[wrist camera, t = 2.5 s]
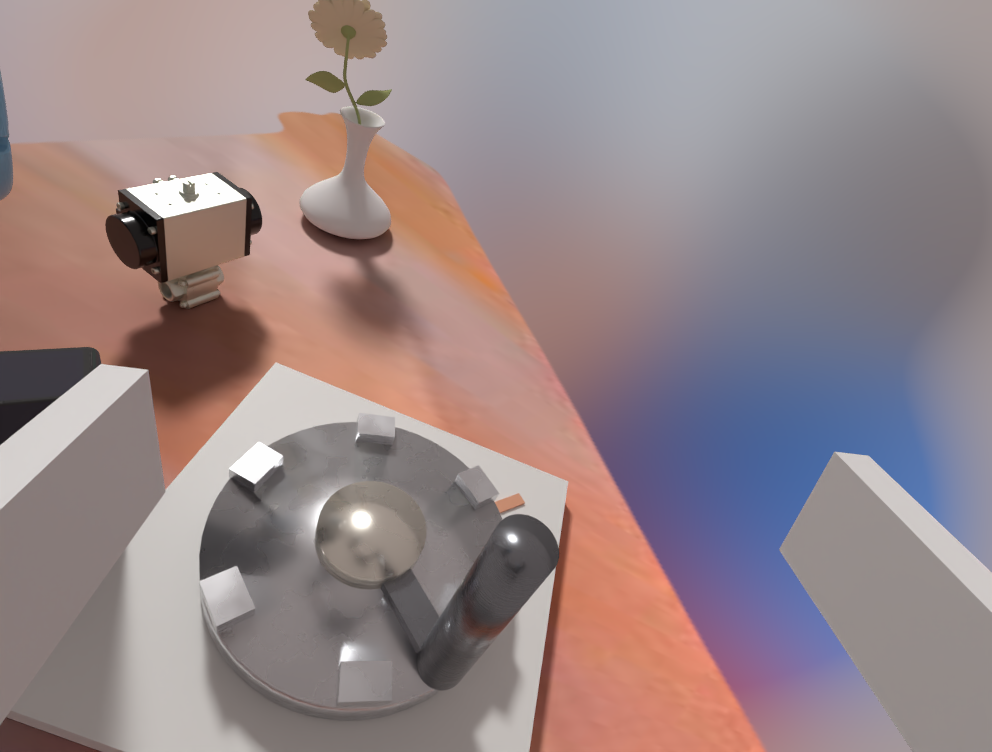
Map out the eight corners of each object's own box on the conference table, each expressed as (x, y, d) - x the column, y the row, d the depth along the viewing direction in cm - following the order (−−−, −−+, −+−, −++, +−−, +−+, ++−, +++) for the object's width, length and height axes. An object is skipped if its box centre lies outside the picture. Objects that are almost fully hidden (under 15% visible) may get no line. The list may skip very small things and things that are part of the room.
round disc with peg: (118, 646, 30) (66, 469, 20) (296, 406, 46) (320, 234, 35) (460, 773, 31) (586, 671, 21) (521, 498, 47) (612, 358, 36)
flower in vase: (399, 221, 77) (448, 21, 60) (371, 259, 68) (419, 38, 52) (309, 184, 75) (334, -29, 59) (268, 218, 67) (285, -21, 51)
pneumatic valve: (259, 289, 57) (266, 183, 50) (149, 331, 49) (136, 211, 41) (223, 260, 59) (224, 153, 51) (109, 297, 50) (89, 174, 42)
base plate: (-7, 712, 28) (-18, 699, 27) (274, 378, 50) (276, 360, 48) (496, 894, 30) (510, 890, 29) (559, 493, 51) (569, 480, 50)
